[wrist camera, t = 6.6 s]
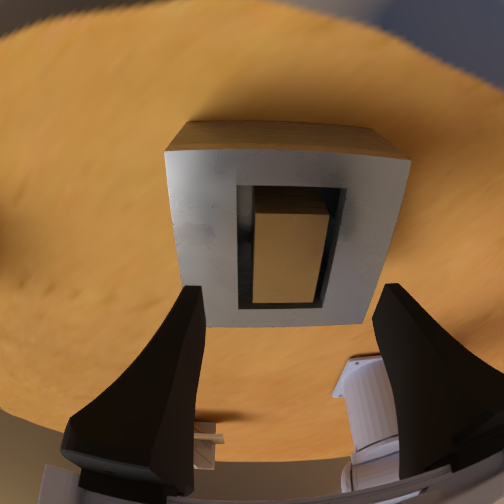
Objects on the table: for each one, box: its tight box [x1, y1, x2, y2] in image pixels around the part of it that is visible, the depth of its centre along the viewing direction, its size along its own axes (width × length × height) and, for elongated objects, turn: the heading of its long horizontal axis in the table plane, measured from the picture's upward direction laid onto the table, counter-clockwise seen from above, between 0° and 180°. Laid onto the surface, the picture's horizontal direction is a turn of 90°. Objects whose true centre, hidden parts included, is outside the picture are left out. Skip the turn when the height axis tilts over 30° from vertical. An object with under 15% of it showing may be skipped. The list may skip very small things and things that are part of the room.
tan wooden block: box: [251, 185, 330, 303], centre depth 16 cm, size 3×5×5 cm, turn 179°
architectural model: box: [194, 422, 224, 470], centre depth 34 cm, size 3×7×7 cm, turn 90°
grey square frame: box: [164, 121, 412, 327], centre depth 16 cm, size 10×10×5 cm
